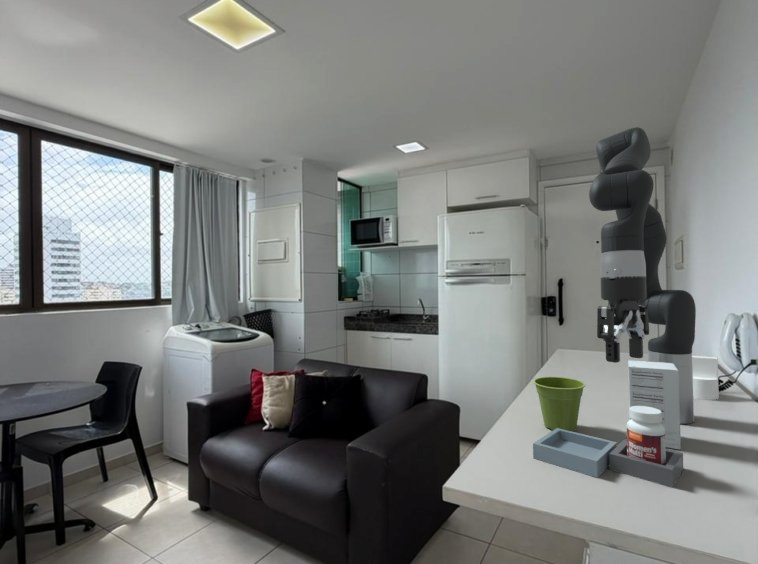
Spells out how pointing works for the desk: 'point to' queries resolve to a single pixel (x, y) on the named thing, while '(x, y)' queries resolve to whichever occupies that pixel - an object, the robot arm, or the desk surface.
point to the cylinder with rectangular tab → (705, 378)
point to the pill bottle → (646, 435)
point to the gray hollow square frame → (647, 466)
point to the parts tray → (574, 451)
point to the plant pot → (559, 401)
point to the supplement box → (657, 394)
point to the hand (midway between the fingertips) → (624, 359)
